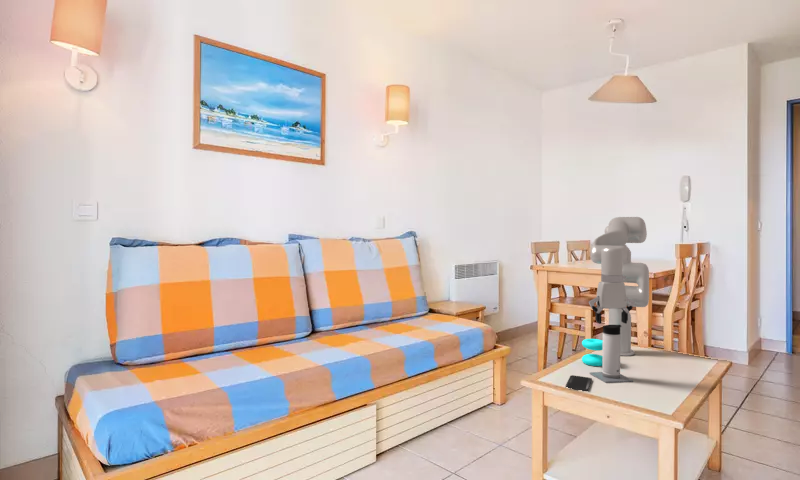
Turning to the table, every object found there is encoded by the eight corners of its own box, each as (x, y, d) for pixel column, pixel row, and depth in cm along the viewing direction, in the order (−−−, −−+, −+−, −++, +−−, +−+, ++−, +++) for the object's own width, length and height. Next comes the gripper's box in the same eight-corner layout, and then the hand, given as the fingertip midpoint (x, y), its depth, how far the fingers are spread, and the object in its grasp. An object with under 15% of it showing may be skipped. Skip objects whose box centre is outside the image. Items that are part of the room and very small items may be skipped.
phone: (592, 378, 175) (588, 389, 161) (592, 380, 175) (588, 393, 161) (570, 375, 178) (564, 386, 165) (570, 377, 178) (564, 389, 165)
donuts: (588, 336, 203) (611, 340, 196) (588, 359, 203) (610, 364, 196) (577, 340, 196) (600, 344, 189) (577, 363, 196) (600, 368, 189)
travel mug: (623, 379, 174) (623, 326, 173) (604, 377, 175) (604, 325, 175) (618, 374, 180) (619, 323, 179) (600, 373, 181) (601, 322, 181)
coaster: (589, 373, 182) (589, 372, 182) (615, 372, 183) (615, 371, 183) (605, 382, 171) (605, 381, 171) (632, 381, 173) (632, 380, 173)
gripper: (630, 277, 180) (629, 320, 181) (585, 277, 181) (585, 320, 181) (639, 280, 173) (638, 324, 173) (592, 280, 173) (592, 325, 174)
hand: (611, 322), depth 177 cm, fingers open, 9 cm apart
